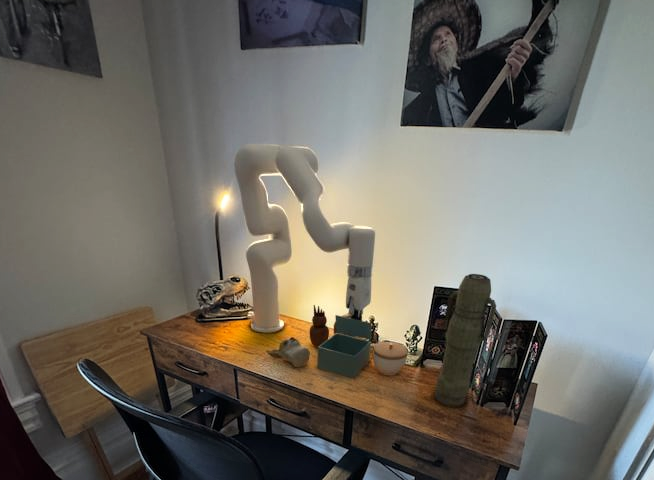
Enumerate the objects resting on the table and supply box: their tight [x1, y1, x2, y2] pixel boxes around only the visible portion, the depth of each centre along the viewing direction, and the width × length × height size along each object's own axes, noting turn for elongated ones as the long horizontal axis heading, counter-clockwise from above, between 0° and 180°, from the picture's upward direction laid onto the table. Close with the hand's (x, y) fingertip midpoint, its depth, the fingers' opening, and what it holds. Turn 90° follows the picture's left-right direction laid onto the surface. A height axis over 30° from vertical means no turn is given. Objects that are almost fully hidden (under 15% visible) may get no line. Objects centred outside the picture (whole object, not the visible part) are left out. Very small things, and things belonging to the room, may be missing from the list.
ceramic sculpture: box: [266, 336, 311, 368], centre depth 122 cm, size 11×9×15 cm
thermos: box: [434, 273, 497, 407], centre depth 100 cm, size 9×12×35 cm
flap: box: [334, 314, 372, 341], centre depth 122 cm, size 12×6×1 cm
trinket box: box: [372, 341, 409, 376], centre depth 119 cm, size 11×11×9 cm
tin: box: [333, 312, 353, 337], centre depth 141 cm, size 15×3×8 cm, turn 143°
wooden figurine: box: [309, 304, 330, 348], centre depth 131 cm, size 7×6×15 cm
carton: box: [317, 333, 372, 379], centre depth 121 cm, size 13×13×7 cm
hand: (355, 327), depth 124 cm, fingers closed
